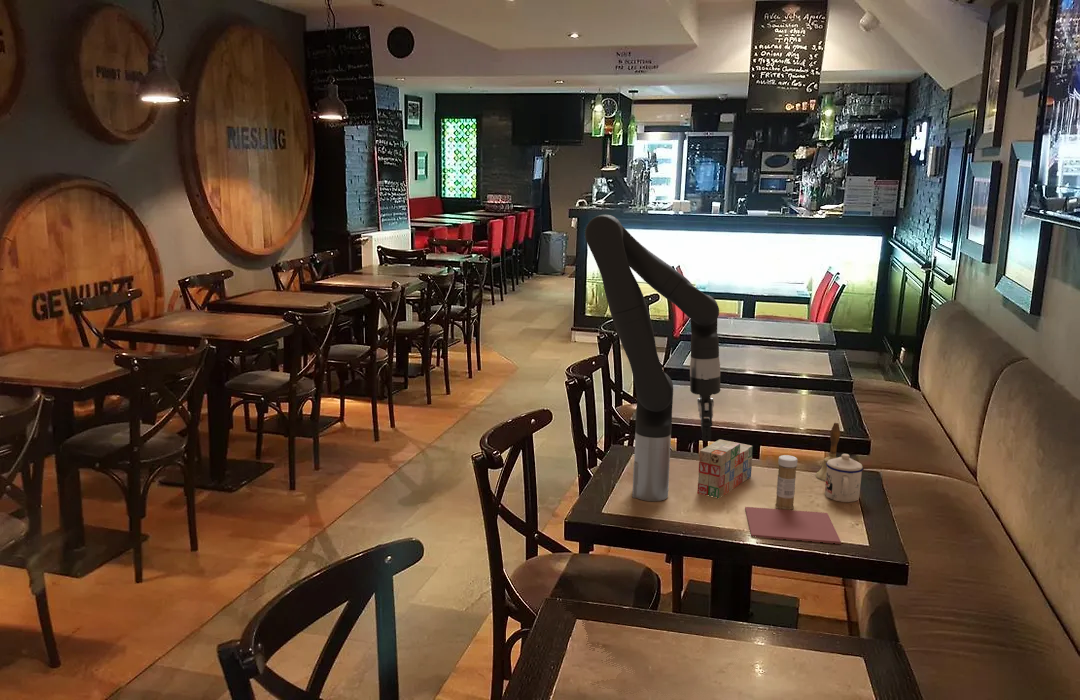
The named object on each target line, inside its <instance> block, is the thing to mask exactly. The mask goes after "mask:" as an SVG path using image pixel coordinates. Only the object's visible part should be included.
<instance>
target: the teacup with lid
mask: <svg viewBox="0 0 1080 700" xmlns="http://www.w3.org/2000/svg"><path fill="white" fill-rule="evenodd" d="M826 465H827V473H826V481H825V484H824V495H825V497H827V498H828V499H830V500H832V501H837V502H841V503H854V502H857V501H858V500H860V492H861V485H862V484H861V482H862V474H863V473H862V472H863V470H864V467H863V465H862V463H860V462H859V461H857V460H854V458H851V457H850V454H848V453H842V454H841V456H839V457H837V458H834V459H830V460H828V461H827V463H826Z"/></svg>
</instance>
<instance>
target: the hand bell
mask: <svg viewBox="0 0 1080 700" xmlns="http://www.w3.org/2000/svg"><path fill="white" fill-rule="evenodd" d="M829 433H830V435H829V439H830V451H829V455H828V456H826V457H824V458H823V461H822V462H823V463H822V465H821V468H820V469H819V471H817V472H815V477H816V478H817V479H819V480H821V481H824V482H826V473H827V465H826V463H827V461H828V460H830V459H834V458H838V457H837V448H838V447H837V446H838V443H839V441H840V437H841V429H840V423H838V422H834V423H833V424H832V428H831V430H830V432H829Z"/></svg>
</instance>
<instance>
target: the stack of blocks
mask: <svg viewBox="0 0 1080 700" xmlns="http://www.w3.org/2000/svg"><path fill="white" fill-rule="evenodd" d="M753 447H754V445H750V444H745V443H740V442H736V441H735V442H734V441H730V440H724V439H718V440H716V441H715V442H712V443H711V444H709V445H707V446H706V447H703V448H702V449H700V450H699V458H698V459H699V461H698V480H697V481H698V482H697V494H699V493H701V494H700V495H703V494H705V495H704V496H706V495H709V496H708V497H711V496H713V497H712V498H714V497H717V498H716V499H718V498H719V499H720V498H721V496H722V497H723V496H725V495H727V494H728V493H729V491H730V492H732V491H733V490H734V489H735V488H736V487H738V486H739V485H740V483H741V484H742V483H744V482H745V481H746V480H748V479H749V477H750V478H751V477H752V466H753ZM732 489H733V490H732ZM726 493H727V494H726Z"/></svg>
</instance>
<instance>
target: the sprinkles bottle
mask: <svg viewBox="0 0 1080 700" xmlns="http://www.w3.org/2000/svg"><path fill="white" fill-rule="evenodd" d="M777 464H778V474H777V483H776V500H775V507H776V509H782V510H794V507H795V505H794V502H795V494H796V493H795V490H796V474H797V466H798V458H797V457H795V456H793V455H788V454H786V455H785V454H783V455H780V456H778V462H777Z"/></svg>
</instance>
